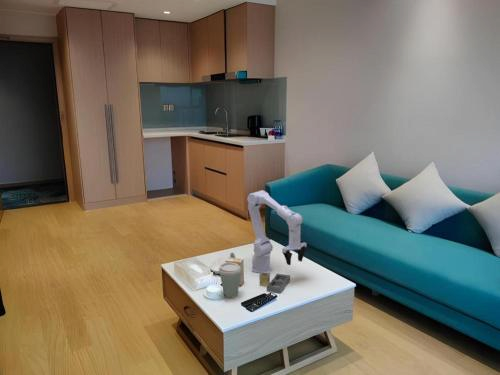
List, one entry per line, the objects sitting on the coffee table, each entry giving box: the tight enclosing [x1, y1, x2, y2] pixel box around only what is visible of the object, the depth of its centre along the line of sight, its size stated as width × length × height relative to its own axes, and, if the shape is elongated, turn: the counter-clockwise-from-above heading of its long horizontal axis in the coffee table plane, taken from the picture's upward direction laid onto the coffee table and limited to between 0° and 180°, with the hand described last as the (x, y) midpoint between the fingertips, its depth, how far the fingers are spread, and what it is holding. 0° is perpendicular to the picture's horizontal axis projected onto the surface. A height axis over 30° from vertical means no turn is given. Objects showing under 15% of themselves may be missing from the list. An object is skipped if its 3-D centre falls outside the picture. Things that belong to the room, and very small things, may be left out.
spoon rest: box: [209, 251, 237, 275], centre depth 216 cm, size 24×12×7 cm, turn 163°
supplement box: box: [226, 257, 245, 287], centre depth 196 cm, size 8×5×13 cm, turn 71°
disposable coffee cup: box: [219, 262, 241, 299], centre depth 183 cm, size 11×11×15 cm
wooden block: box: [259, 272, 271, 288], centre depth 195 cm, size 4×4×6 cm
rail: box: [266, 273, 291, 294], centre depth 194 cm, size 7×16×2 cm, turn 158°
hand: (294, 262), depth 197 cm, fingers open, 7 cm apart
